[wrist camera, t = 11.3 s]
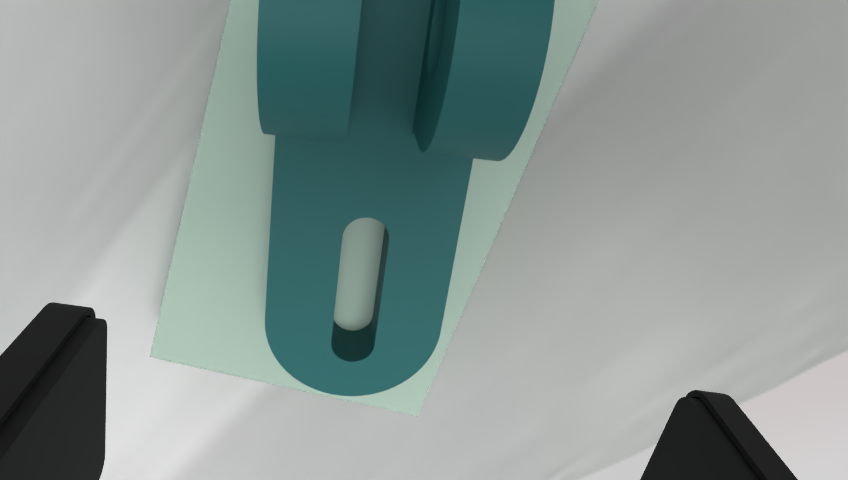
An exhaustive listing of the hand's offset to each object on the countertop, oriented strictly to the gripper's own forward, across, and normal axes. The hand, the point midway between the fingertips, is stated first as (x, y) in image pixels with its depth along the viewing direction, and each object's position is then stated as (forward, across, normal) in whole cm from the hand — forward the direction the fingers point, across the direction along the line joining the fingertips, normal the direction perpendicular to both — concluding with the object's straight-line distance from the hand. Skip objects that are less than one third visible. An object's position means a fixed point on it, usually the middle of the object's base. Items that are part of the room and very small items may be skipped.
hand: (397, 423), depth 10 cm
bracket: (+15, 0, +1) cm, 15 cm away
